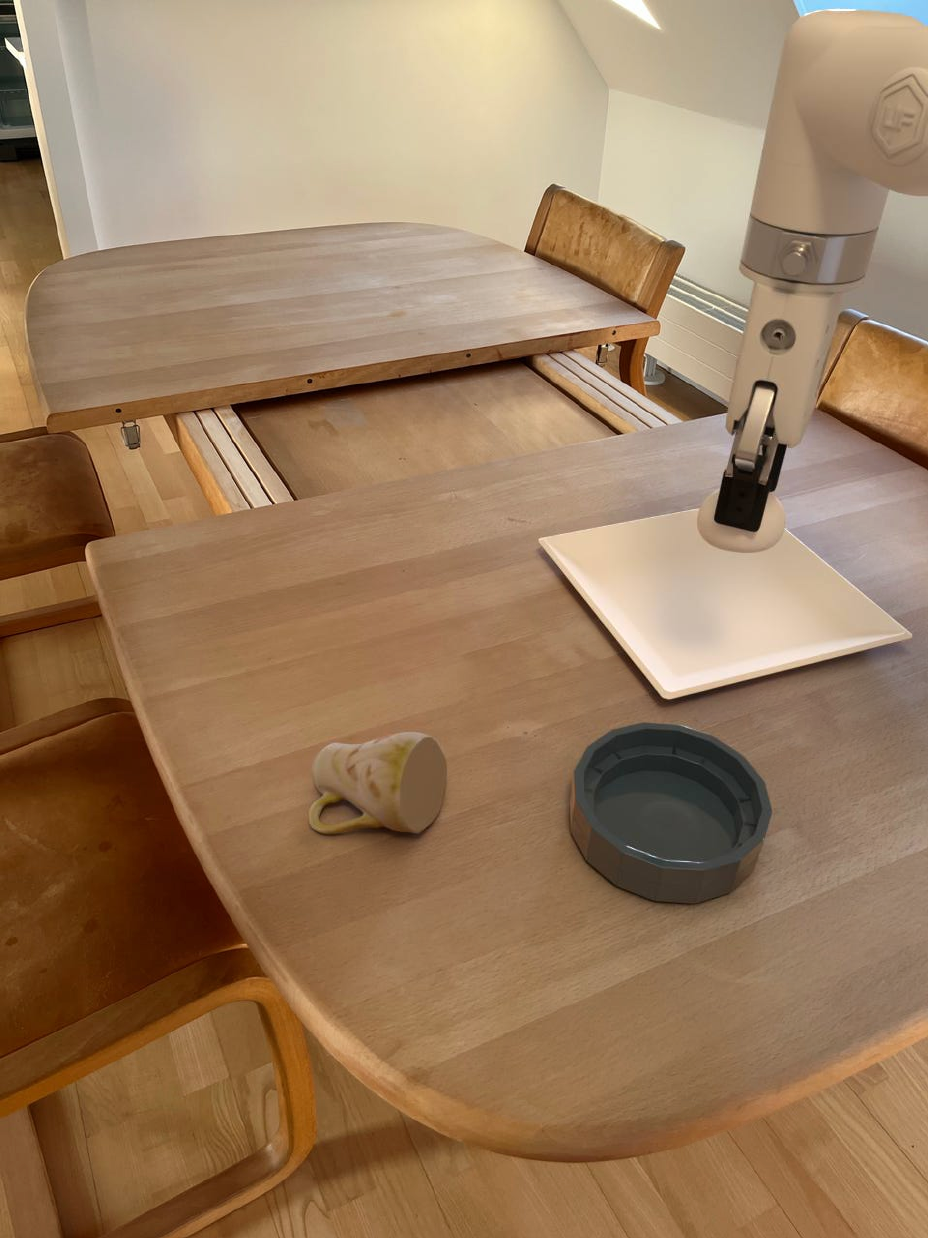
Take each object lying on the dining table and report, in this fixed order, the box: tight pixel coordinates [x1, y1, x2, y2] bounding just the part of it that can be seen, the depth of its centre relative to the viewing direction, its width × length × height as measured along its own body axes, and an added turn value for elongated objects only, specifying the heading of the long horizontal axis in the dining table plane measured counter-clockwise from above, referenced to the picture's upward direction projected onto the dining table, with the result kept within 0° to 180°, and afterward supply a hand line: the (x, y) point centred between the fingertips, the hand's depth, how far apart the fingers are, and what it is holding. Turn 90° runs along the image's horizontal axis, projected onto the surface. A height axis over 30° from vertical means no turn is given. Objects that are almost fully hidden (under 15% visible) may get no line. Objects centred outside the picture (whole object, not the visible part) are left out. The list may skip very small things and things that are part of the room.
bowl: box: [569, 721, 773, 904], centre depth 68 cm, size 14×14×4 cm
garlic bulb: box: [697, 445, 787, 553], centre depth 68 cm, size 6×6×8 cm
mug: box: [308, 730, 448, 835], centre depth 68 cm, size 8×10×10 cm
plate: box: [537, 507, 913, 701], centre depth 92 cm, size 26×26×2 cm
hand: (745, 503), depth 68 cm, fingers closed on garlic bulb, 5 cm apart
